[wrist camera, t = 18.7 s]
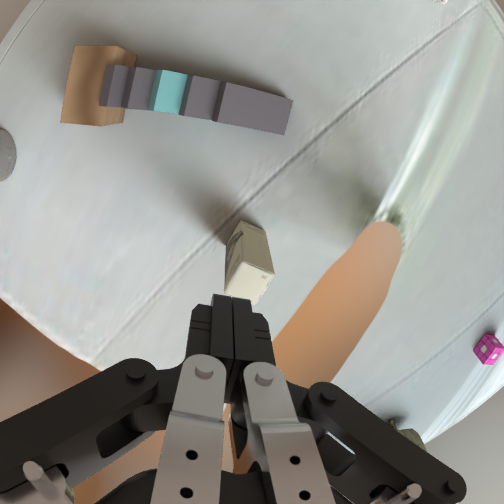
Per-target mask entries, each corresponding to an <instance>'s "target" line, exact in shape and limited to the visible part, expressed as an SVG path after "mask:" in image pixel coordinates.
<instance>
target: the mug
mask: <svg viewBox="0 0 504 504" xmlns="http://www.w3.org/2000/svg"><path fill="white" fill-rule="evenodd" d="M433 1H435V2H436V3H439V4H445V3H446V2H447V0H433Z"/></svg>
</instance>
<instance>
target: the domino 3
mask: <svg viewBox="0 0 504 504" xmlns="http://www.w3.org/2000/svg"><path fill="white" fill-rule="evenodd" d="M187 76H188V75H187V74H182V73H177V72H172V71H167V70H156V75H155V79H154V83H153V88H152V93H151V97H150V102H149V107H148V110H151V111H159V112H168V113H176V114H179V111H180V107H181V102H182V98H183V93H184V89H185V85H186V80H187Z"/></svg>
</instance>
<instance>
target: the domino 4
mask: <svg viewBox="0 0 504 504" xmlns="http://www.w3.org/2000/svg"><path fill="white" fill-rule="evenodd" d="M221 82H222V81H217V80H213V79H209V78H204V77H200V76H195V75H188V76H187V80H186V85H185V89H184V93H183V98H182V102H181V107H180V111H179V115H183V116H189V117H196V118H203V119H209V120H212V117H213V113H214V108H215V104H216V100H217V96H218V91H219V87H220V83H221Z"/></svg>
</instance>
